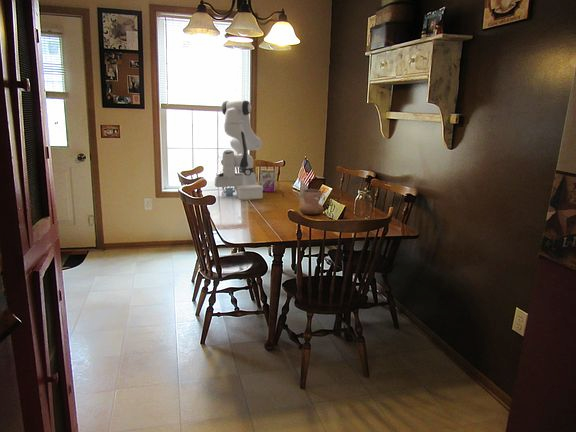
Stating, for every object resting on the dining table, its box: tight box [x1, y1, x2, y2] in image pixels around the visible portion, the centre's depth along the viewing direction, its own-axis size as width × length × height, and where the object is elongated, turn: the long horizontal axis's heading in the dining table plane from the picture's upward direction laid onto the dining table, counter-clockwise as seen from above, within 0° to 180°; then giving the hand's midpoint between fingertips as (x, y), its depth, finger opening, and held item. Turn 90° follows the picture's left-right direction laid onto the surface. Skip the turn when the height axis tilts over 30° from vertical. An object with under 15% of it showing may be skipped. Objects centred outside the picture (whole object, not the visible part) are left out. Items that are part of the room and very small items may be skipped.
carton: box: [235, 187, 263, 201], centre depth 308 cm, size 12×16×7 cm
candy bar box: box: [259, 168, 276, 193], centre depth 330 cm, size 11×5×16 cm, turn 84°
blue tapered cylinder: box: [225, 187, 234, 197], centre depth 317 cm, size 5×5×5 cm
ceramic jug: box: [299, 188, 325, 216], centre depth 266 cm, size 18×14×14 cm
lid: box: [236, 184, 263, 191], centre depth 307 cm, size 13×17×2 cm
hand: (229, 192), depth 317 cm, fingers closed on blue tapered cylinder, 5 cm apart
